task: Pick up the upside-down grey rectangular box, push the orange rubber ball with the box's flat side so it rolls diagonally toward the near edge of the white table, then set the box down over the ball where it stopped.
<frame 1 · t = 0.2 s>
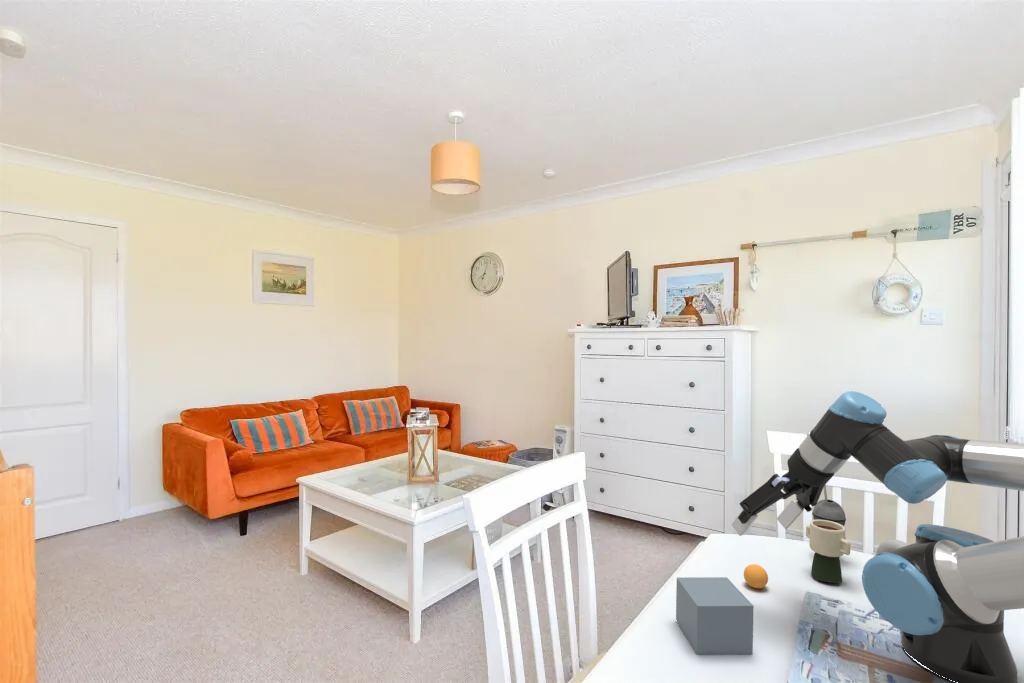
hand: (759, 526, 106), 16 cm above the table, tool tilted 35°, fingers open, 13 cm apart
donut: (899, 584, 113), on the table
grey rectangular box: (712, 636, 92), on the table
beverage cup: (827, 561, 124), on the table
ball: (755, 576, 111), on the table
character mug: (826, 580, 115), on the table
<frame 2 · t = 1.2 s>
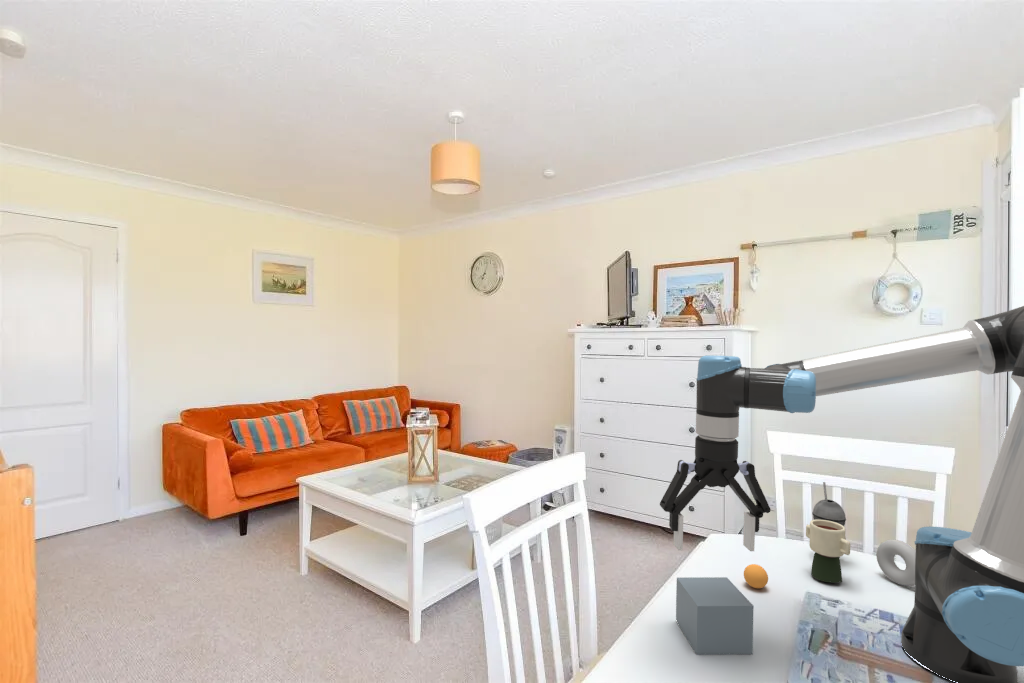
hand: (713, 547, 93), 17 cm above the table, tool pointing down, fingers open, 13 cm apart
nothing on the table moved.
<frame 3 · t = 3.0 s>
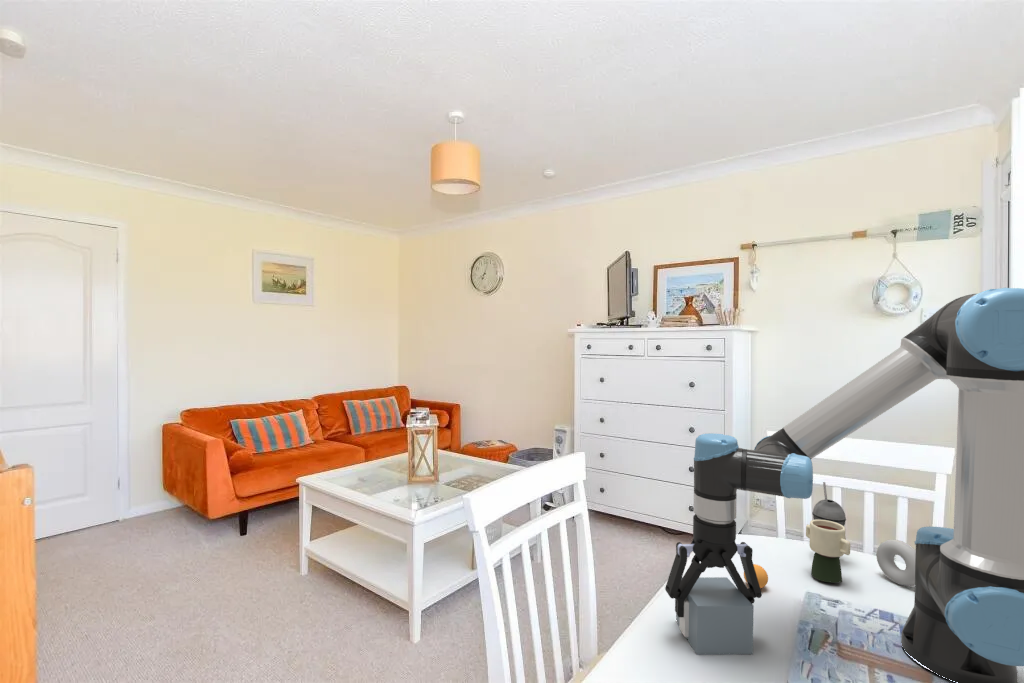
hand: (712, 632, 92), 1 cm above the table, tool pointing down, fingers closed on grey rectangular box, 10 cm apart
grey rectangular box: (712, 636, 92), on the table, touching gripper
everything else where it was.
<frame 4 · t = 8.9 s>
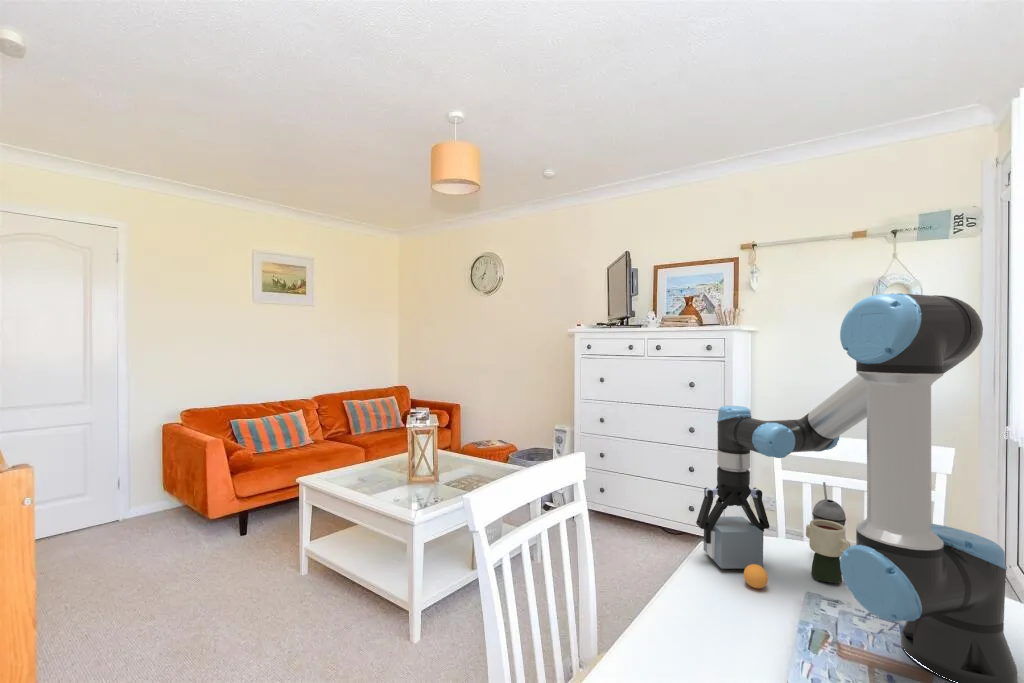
hand: (732, 555, 122), 2 cm above the table, tool pointing down, fingers closed on grey rectangular box, 10 cm apart
grey rectangular box: (732, 558, 122), point 1 cm above the table, touching gripper
everything else where it was.
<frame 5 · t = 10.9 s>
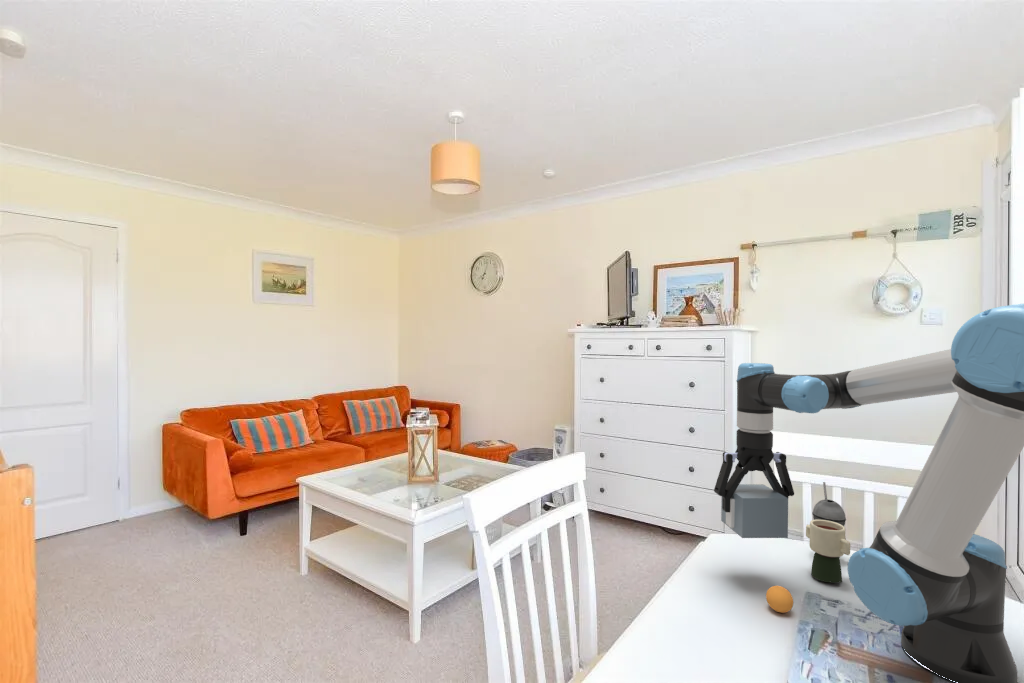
hand: (753, 525, 112), 13 cm above the table, tool pointing down, fingers closed on grey rectangular box, 10 cm apart
grey rectangular box: (753, 528, 112), point 13 cm above the table, touching gripper
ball: (779, 599, 101), on the table
everything else where it was.
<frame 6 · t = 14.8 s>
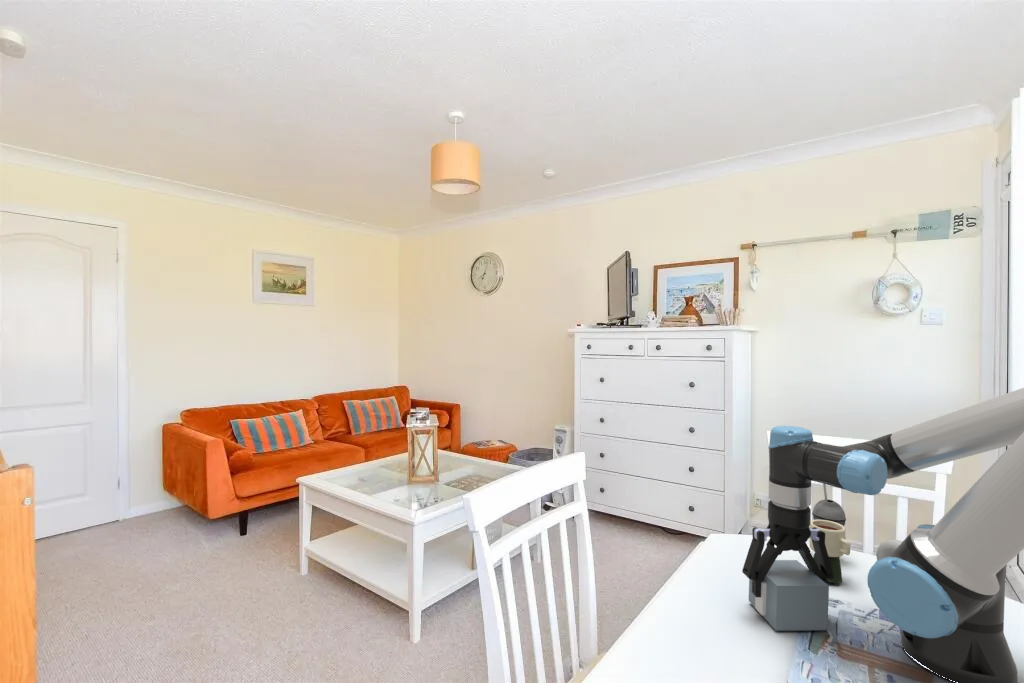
hand: (786, 611, 99), 1 cm above the table, tool pointing down, fingers closed on grey rectangular box, 10 cm apart
grey rectangular box: (786, 614, 99), point 1 cm above the table, touching gripper
when the fingers open (1 cm above the table, at t = 15.0 s): grey rectangular box stays where it is, on the table.
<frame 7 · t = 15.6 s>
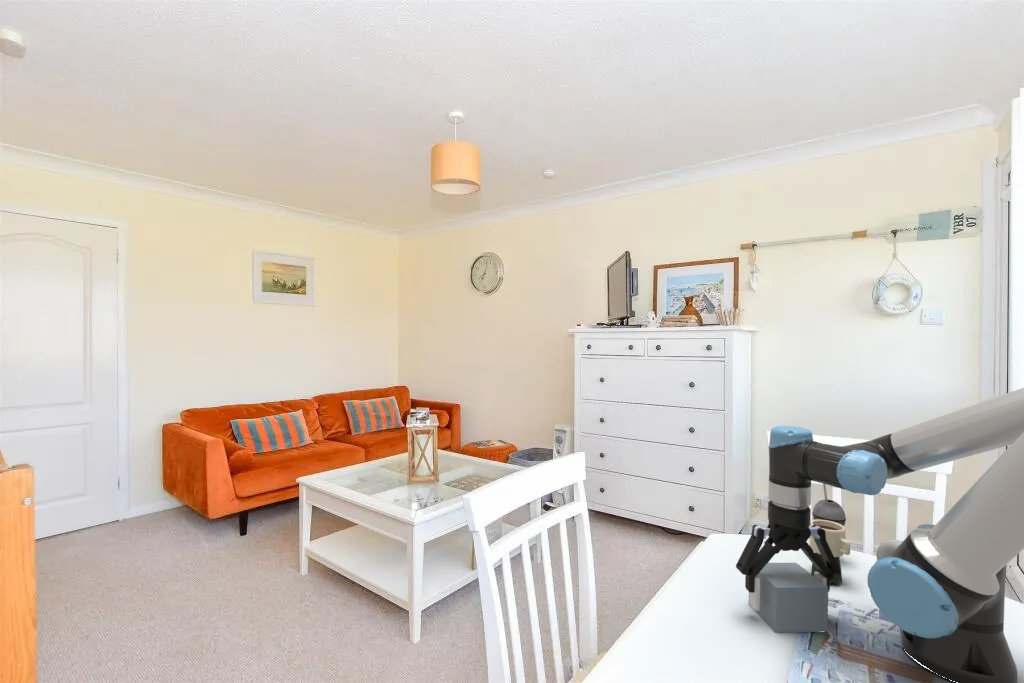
hand: (786, 607, 99), 2 cm above the table, tool pointing down, fingers open, 13 cm apart
grey rectangular box: (786, 617, 99), on the table
everything else where it was.
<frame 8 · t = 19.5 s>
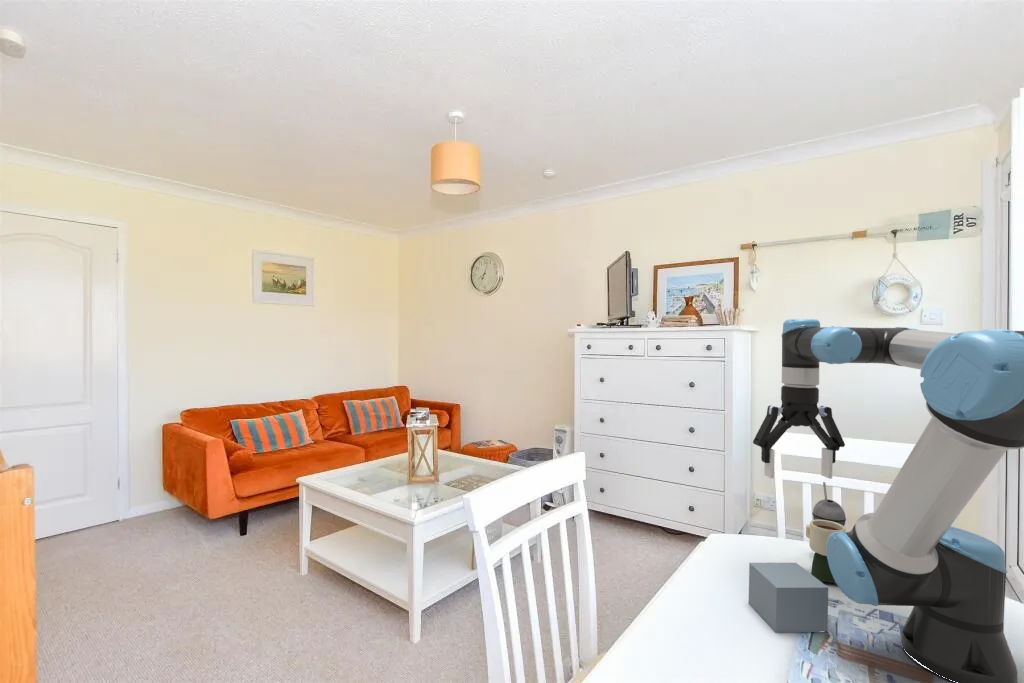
hand: (797, 476, 113), 25 cm above the table, tool pointing down, fingers open, 13 cm apart
nothing on the table moved.
at the end: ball 1.9 cm from the grey rectangular box (horizontally); grey rectangular box on the table; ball moved 9.9 cm from its start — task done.
